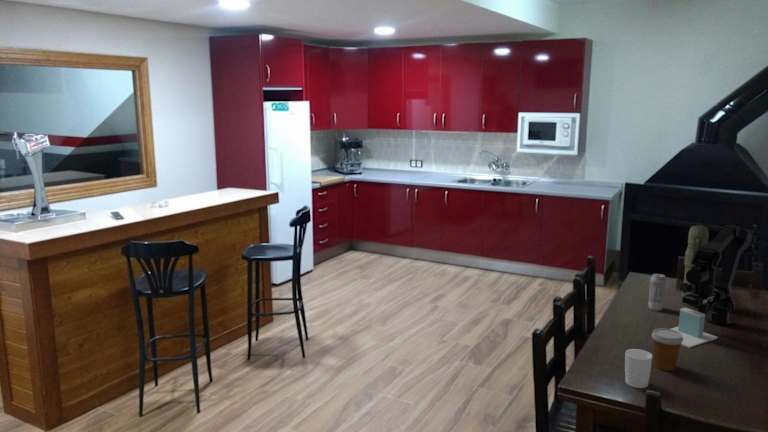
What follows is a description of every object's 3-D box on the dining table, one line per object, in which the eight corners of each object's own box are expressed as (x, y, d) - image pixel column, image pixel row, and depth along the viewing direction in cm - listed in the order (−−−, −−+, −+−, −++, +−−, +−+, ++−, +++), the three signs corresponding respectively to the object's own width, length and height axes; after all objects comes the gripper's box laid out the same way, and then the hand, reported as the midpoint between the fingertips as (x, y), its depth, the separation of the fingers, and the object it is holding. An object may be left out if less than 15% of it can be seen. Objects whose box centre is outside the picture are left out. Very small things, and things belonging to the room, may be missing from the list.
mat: (682, 326, 228) (683, 324, 228) (717, 338, 216) (717, 336, 216) (655, 334, 220) (655, 333, 220) (689, 348, 208) (689, 346, 208)
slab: (683, 329, 224) (685, 307, 222) (702, 336, 217) (705, 313, 215) (678, 330, 222) (680, 308, 221) (697, 338, 215) (700, 315, 214)
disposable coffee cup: (644, 360, 199) (647, 327, 197) (672, 360, 199) (675, 327, 196) (656, 373, 190) (659, 339, 187) (685, 373, 189) (689, 339, 187)
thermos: (702, 301, 256) (710, 224, 250) (704, 309, 246) (712, 229, 239) (680, 298, 260) (687, 222, 254) (680, 306, 250) (688, 228, 243)
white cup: (618, 378, 187) (620, 349, 185) (641, 376, 187) (644, 348, 185) (630, 389, 179) (633, 360, 177) (655, 388, 180) (657, 358, 178)
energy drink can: (666, 309, 247) (669, 275, 244) (658, 312, 244) (661, 278, 241) (653, 305, 252) (655, 272, 249) (645, 308, 248) (647, 275, 246)
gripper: (700, 270, 230) (697, 307, 233) (670, 277, 221) (667, 316, 224) (728, 277, 220) (724, 316, 223) (698, 285, 211) (694, 325, 215)
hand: (702, 318), depth 222 cm, fingers closed
